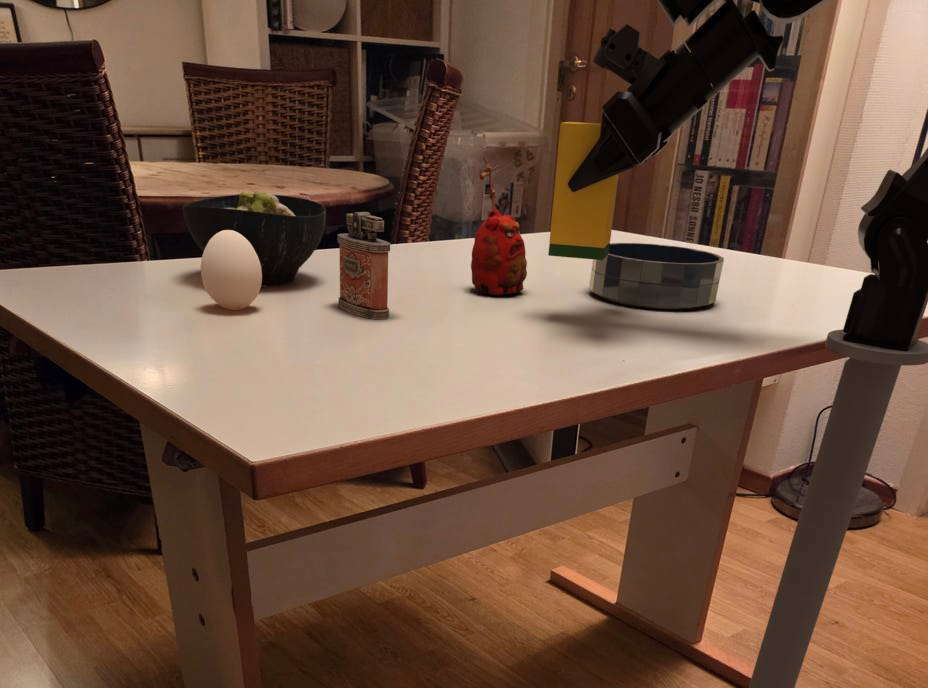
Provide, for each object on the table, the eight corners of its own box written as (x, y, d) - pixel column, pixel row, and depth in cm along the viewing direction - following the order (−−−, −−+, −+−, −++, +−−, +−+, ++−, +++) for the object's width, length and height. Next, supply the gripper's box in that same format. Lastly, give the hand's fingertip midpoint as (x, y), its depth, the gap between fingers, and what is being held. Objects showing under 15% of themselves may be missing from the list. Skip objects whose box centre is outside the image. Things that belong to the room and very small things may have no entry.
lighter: (331, 305, 99) (330, 208, 93) (356, 303, 100) (356, 207, 95) (370, 320, 93) (370, 218, 88) (396, 317, 95) (398, 217, 90)
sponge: (608, 253, 97) (625, 124, 90) (602, 260, 93) (619, 125, 86) (556, 249, 98) (568, 121, 91) (548, 255, 94) (560, 122, 87)
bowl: (164, 285, 103) (153, 192, 98) (226, 264, 117) (219, 181, 112) (299, 299, 100) (295, 204, 95) (345, 275, 114) (344, 191, 109)
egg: (192, 307, 94) (184, 227, 90) (240, 300, 98) (234, 224, 94) (227, 318, 90) (221, 236, 86) (275, 311, 95) (271, 232, 90)
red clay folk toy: (507, 300, 107) (519, 162, 98) (457, 292, 109) (465, 157, 101) (532, 291, 112) (545, 160, 104) (484, 284, 115) (493, 155, 107)
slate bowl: (731, 299, 115) (741, 255, 112) (687, 318, 103) (696, 268, 100) (620, 281, 122) (626, 239, 119) (567, 296, 111) (573, 250, 108)
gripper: (659, 4, 90) (543, 120, 98) (643, -19, 75) (507, 121, 83) (719, 97, 92) (602, 203, 101) (716, 94, 77) (578, 219, 85)
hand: (574, 186), depth 92 cm, fingers closed on sponge, 5 cm apart
